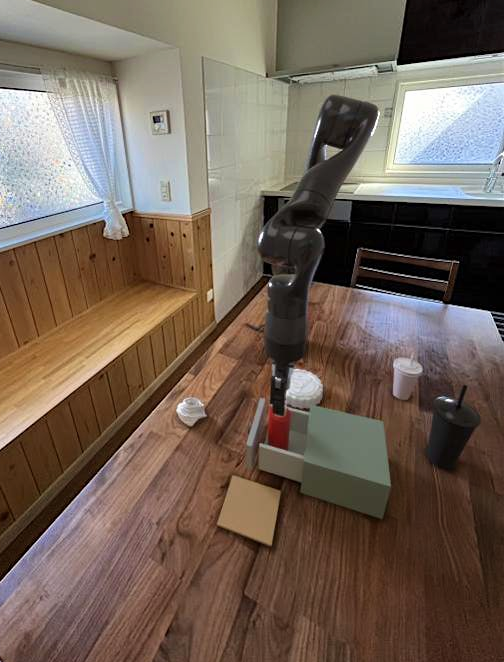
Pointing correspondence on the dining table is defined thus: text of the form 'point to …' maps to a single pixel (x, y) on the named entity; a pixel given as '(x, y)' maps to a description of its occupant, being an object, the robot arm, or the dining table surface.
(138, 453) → the dining table surface
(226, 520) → the cork coaster
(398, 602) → the dining table surface
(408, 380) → the smoothie
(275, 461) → the drawer
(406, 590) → the dining table surface
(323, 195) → the robot arm
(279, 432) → the ketchup bottle
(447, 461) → the drinking cup
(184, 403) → the whipped cream
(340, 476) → the cabinet
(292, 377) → the mooncake
